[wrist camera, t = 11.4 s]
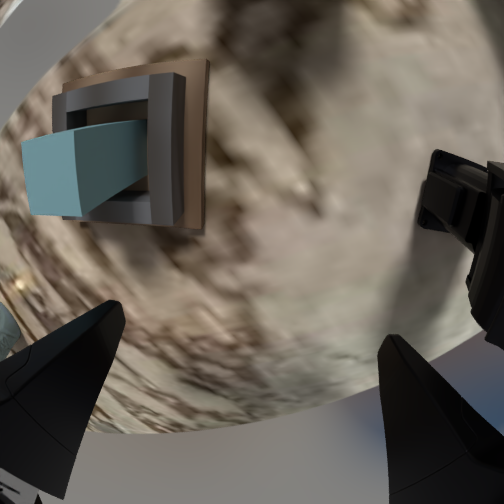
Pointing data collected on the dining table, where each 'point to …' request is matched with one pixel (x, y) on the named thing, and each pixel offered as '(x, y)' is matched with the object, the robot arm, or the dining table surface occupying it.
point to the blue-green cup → (7, 331)
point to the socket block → (148, 137)
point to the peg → (83, 166)
